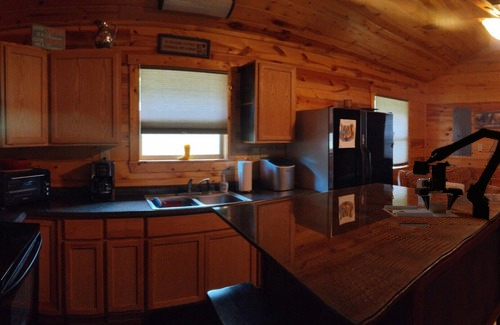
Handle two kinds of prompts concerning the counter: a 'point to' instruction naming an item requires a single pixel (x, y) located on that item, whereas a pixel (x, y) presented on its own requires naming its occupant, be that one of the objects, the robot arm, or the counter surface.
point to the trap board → (416, 212)
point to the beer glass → (419, 185)
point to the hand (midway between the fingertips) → (438, 210)
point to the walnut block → (437, 208)
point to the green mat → (413, 224)
